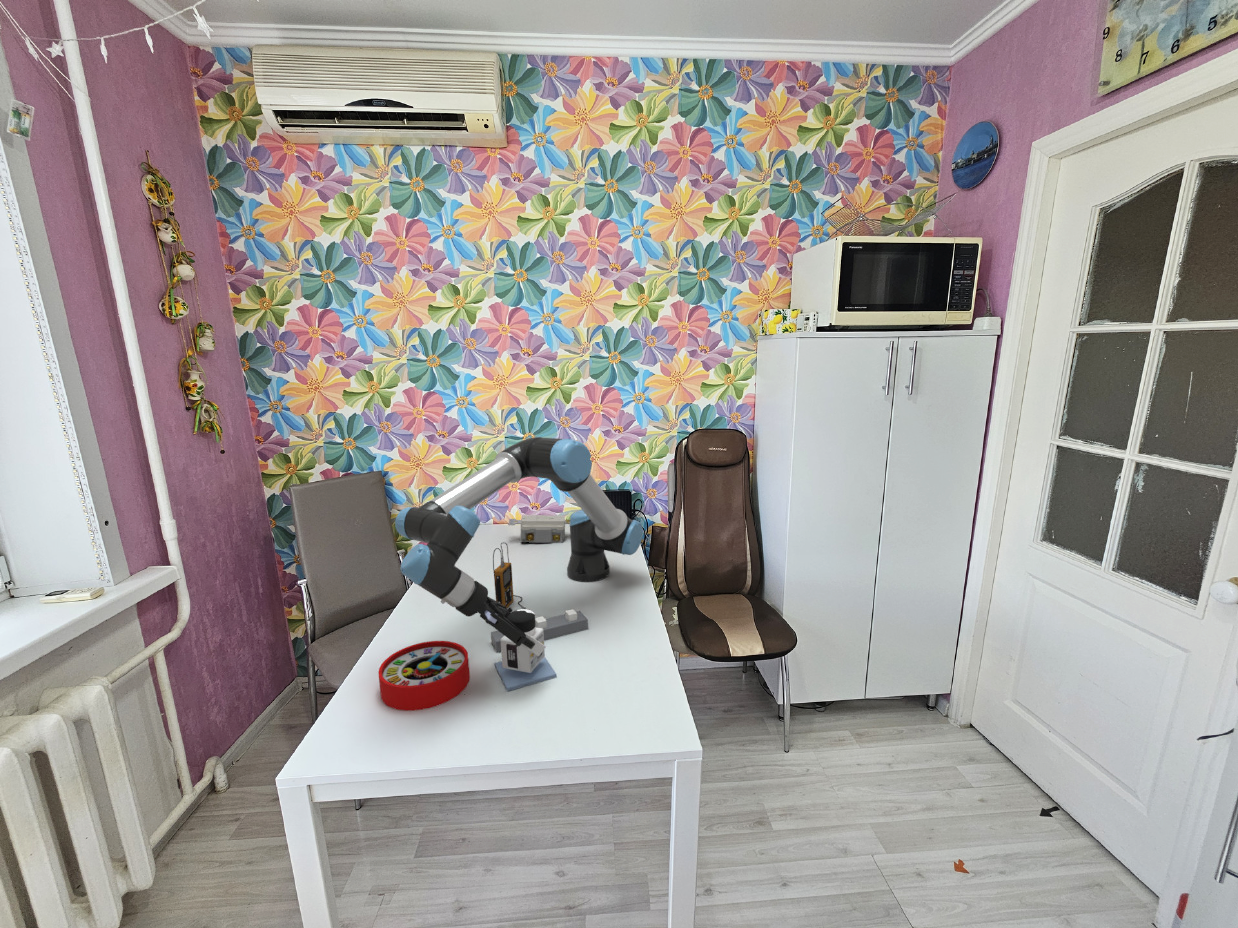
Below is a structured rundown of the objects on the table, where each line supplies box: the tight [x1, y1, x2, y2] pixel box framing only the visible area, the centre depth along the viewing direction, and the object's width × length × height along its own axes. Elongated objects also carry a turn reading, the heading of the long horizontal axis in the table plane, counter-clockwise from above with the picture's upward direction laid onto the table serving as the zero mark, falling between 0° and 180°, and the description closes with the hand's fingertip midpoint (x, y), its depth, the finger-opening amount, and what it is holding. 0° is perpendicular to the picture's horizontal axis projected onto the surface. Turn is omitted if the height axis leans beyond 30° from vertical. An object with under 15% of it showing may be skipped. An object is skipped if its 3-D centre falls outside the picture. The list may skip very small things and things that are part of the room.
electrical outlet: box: [507, 514, 570, 544], centre depth 228 cm, size 12×28×10 cm, turn 98°
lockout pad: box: [494, 657, 558, 692], centre depth 133 cm, size 12×12×1 cm
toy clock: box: [377, 640, 471, 712], centre depth 128 cm, size 20×6×20 cm
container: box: [500, 608, 546, 673], centre depth 131 cm, size 8×8×13 cm
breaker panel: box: [490, 608, 589, 653], centre depth 149 cm, size 26×6×5 cm, turn 116°
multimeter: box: [492, 542, 527, 609], centre depth 166 cm, size 15×10×20 cm
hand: (534, 640), depth 132 cm, fingers closed on container, 10 cm apart
